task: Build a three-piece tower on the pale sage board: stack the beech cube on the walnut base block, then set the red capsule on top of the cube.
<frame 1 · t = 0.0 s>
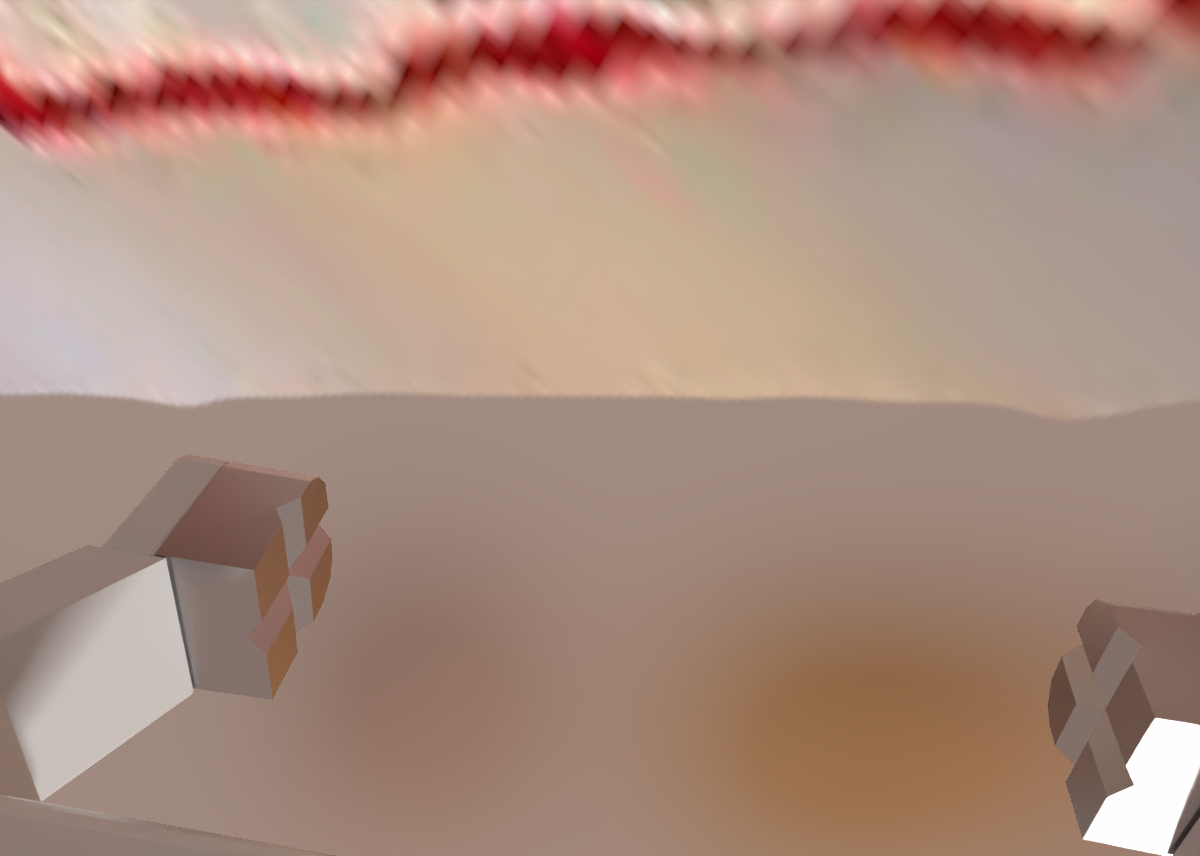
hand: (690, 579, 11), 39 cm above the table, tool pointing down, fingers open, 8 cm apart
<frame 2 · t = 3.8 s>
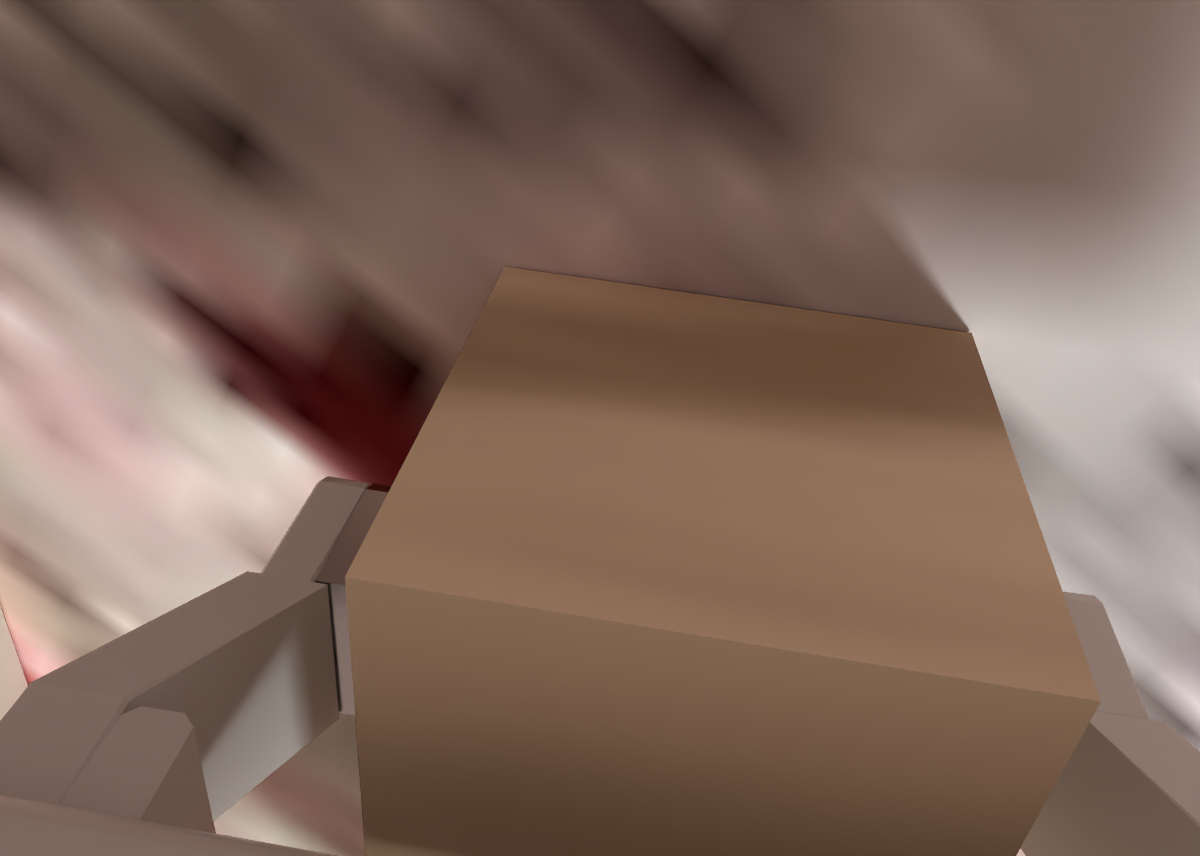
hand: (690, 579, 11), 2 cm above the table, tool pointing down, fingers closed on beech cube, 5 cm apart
beech cube: (700, 484, 12), on the table, touching gripper
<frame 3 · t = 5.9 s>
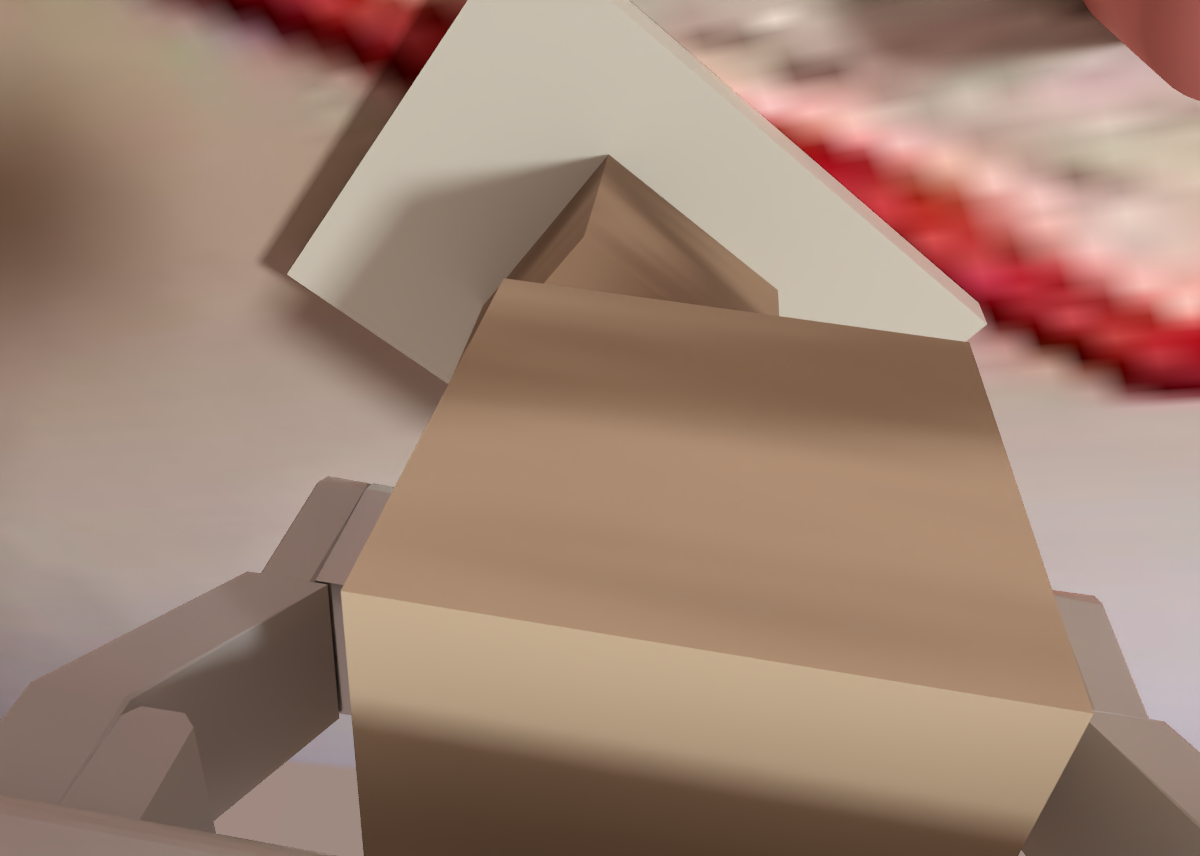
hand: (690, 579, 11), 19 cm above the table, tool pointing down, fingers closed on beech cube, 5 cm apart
beech cube: (700, 493, 12), point 17 cm above the table, touching gripper
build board: (630, 279, 30), on the table
walnut base: (626, 298, 29), point 1 cm above the table, touching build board
when the fingers open (9 cm above the table, at t = 8.2 s): beech cube drops 1 cm, resting on walnut base.
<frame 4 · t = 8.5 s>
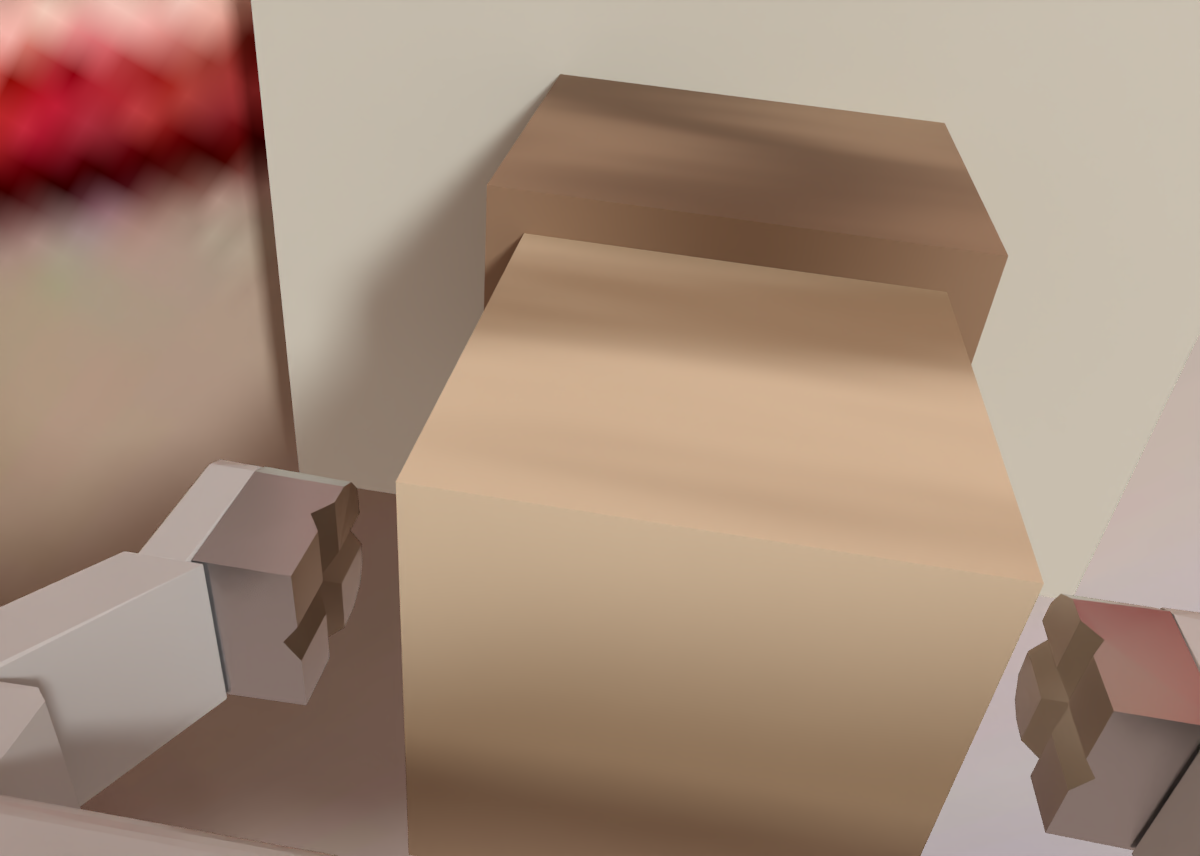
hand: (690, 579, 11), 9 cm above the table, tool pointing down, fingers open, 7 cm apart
beech cube: (702, 436, 13), point 6 cm above the table, touching walnut base
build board: (723, 245, 18), on the table
walnut base: (720, 273, 17), point 1 cm above the table, touching beech cube, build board
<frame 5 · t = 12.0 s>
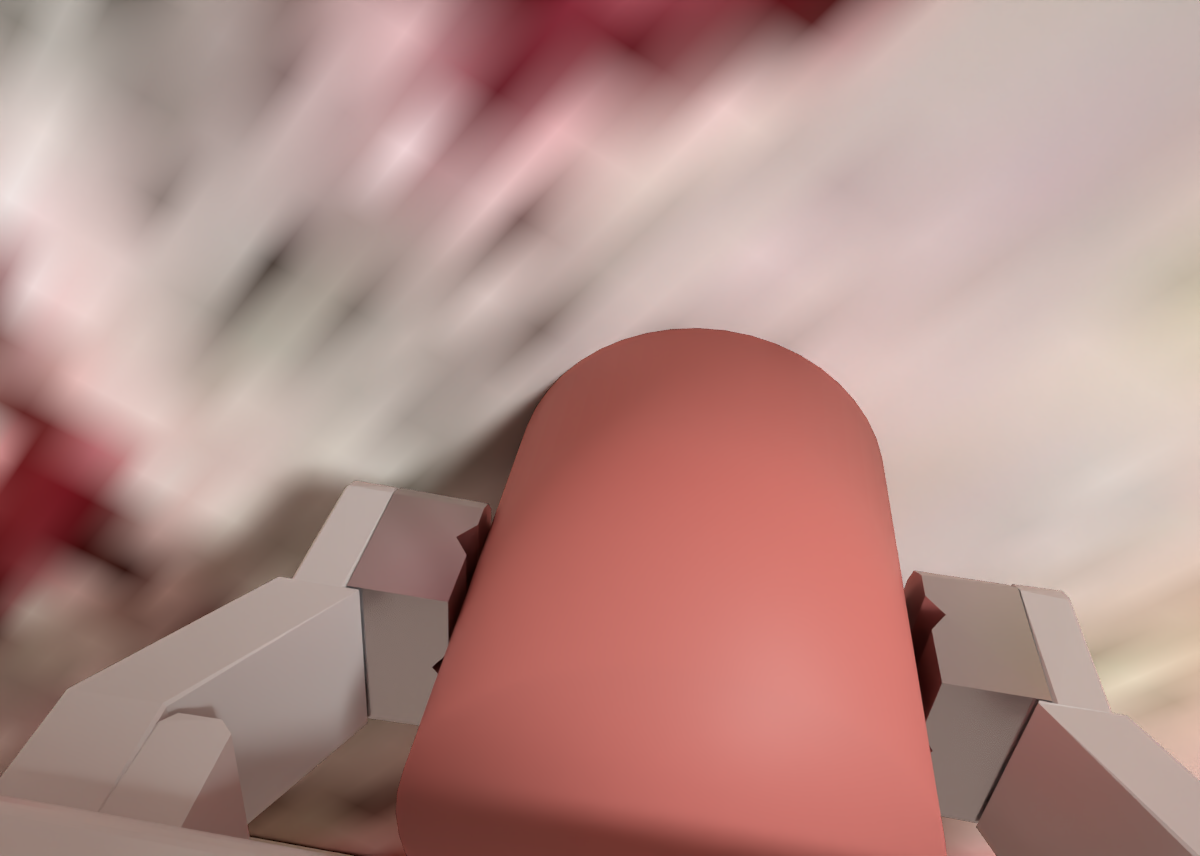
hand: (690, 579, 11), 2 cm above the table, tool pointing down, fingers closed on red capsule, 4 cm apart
red capsule: (697, 488, 12), on the table, touching gripper
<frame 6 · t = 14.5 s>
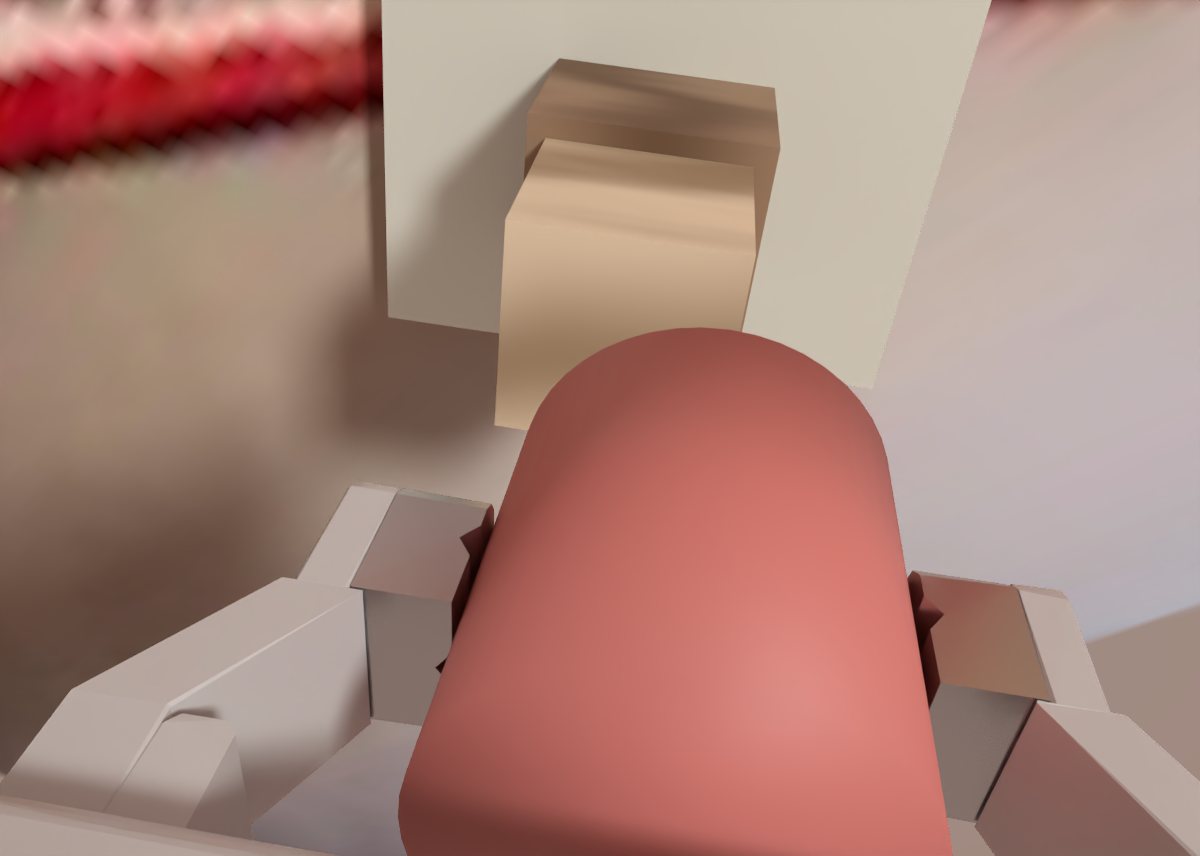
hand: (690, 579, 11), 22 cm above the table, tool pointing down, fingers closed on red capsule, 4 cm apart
beech cube: (636, 248, 25), point 6 cm above the table, touching walnut base
red capsule: (700, 489, 12), point 20 cm above the table, touching gripper
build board: (655, 162, 30), on the table
walnut base: (652, 177, 29), point 1 cm above the table, touching beech cube, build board
when the fingers open (14 cm above the table, at t = 16.8 s): red capsule drops 1 cm, resting on beech cube.
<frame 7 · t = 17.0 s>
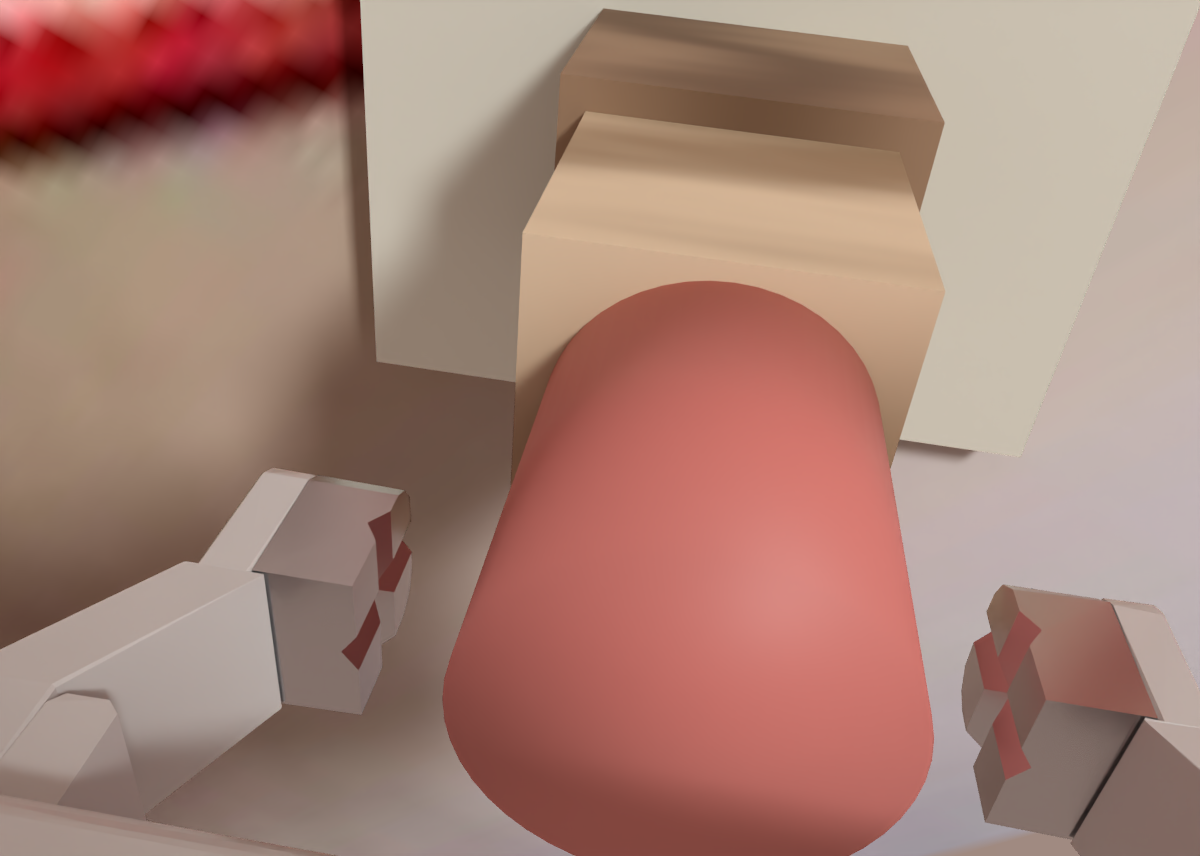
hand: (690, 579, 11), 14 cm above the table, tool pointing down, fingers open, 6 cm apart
beech cube: (717, 274, 17), point 6 cm above the table, touching red capsule, walnut base
red capsule: (707, 433, 13), point 11 cm above the table, touching beech cube
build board: (731, 155, 22), on the table
walnut base: (729, 174, 21), point 1 cm above the table, touching beech cube, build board
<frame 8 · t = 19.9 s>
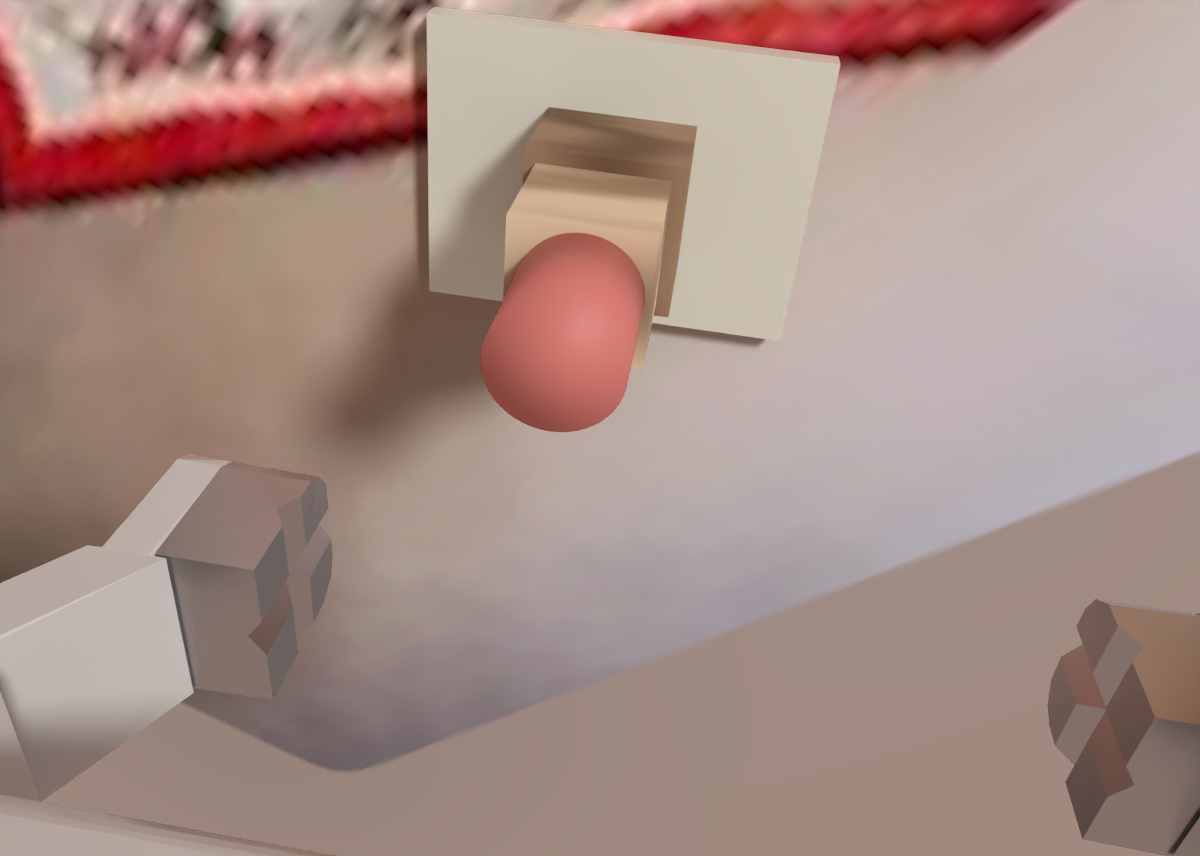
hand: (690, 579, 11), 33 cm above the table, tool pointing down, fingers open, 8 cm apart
beech cube: (597, 236, 38), point 6 cm above the table, touching red capsule, walnut base
red capsule: (579, 294, 34), point 11 cm above the table, touching beech cube
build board: (619, 178, 43), on the table
walnut base: (615, 188, 42), point 1 cm above the table, touching beech cube, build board
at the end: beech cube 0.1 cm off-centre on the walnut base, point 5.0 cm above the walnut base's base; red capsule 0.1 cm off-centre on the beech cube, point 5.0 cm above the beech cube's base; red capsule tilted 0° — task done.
